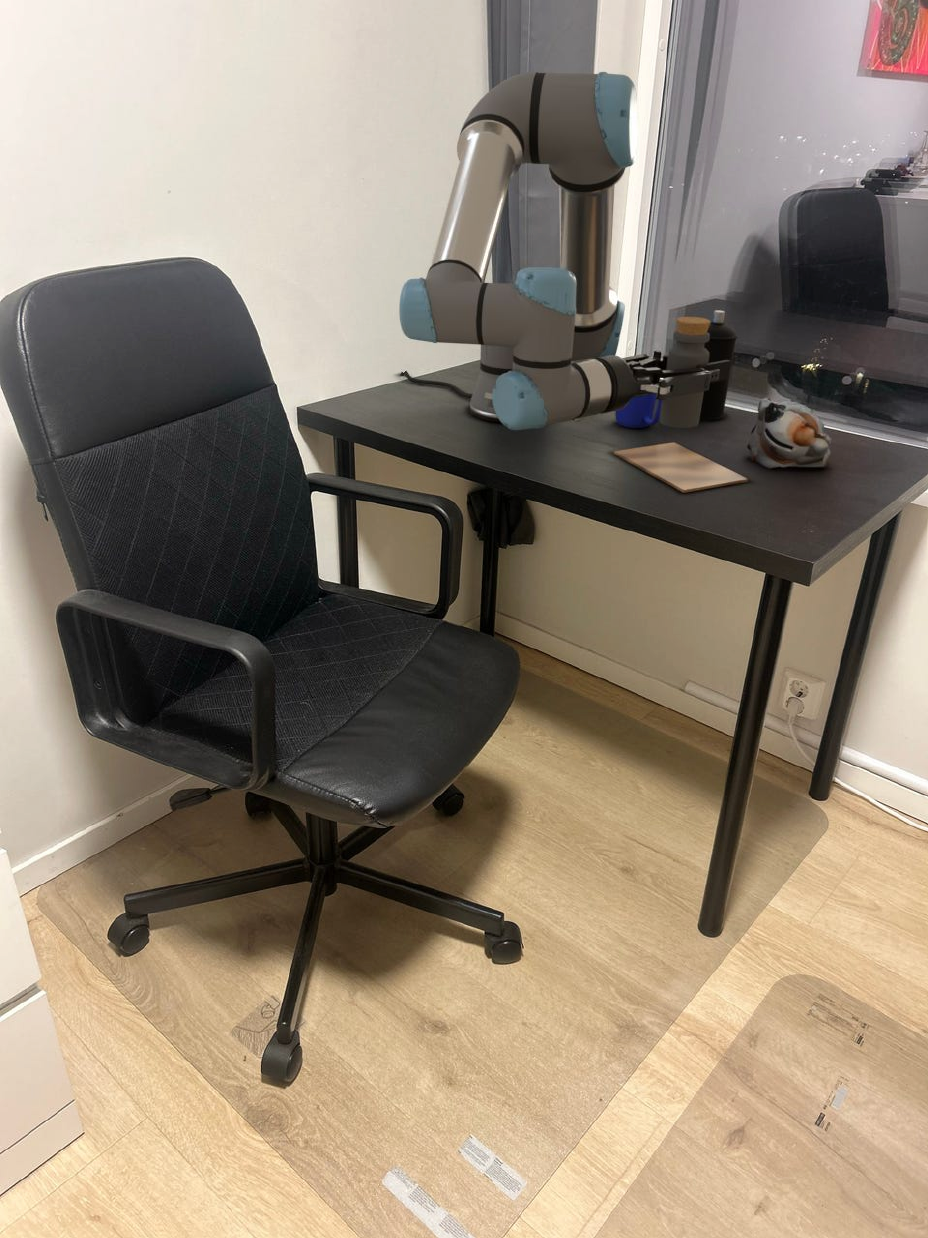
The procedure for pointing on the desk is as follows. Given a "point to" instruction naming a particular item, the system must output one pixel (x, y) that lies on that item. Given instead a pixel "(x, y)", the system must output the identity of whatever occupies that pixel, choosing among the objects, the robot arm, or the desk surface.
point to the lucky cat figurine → (788, 436)
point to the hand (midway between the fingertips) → (710, 364)
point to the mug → (639, 412)
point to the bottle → (686, 356)
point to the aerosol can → (719, 350)
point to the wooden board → (680, 467)
